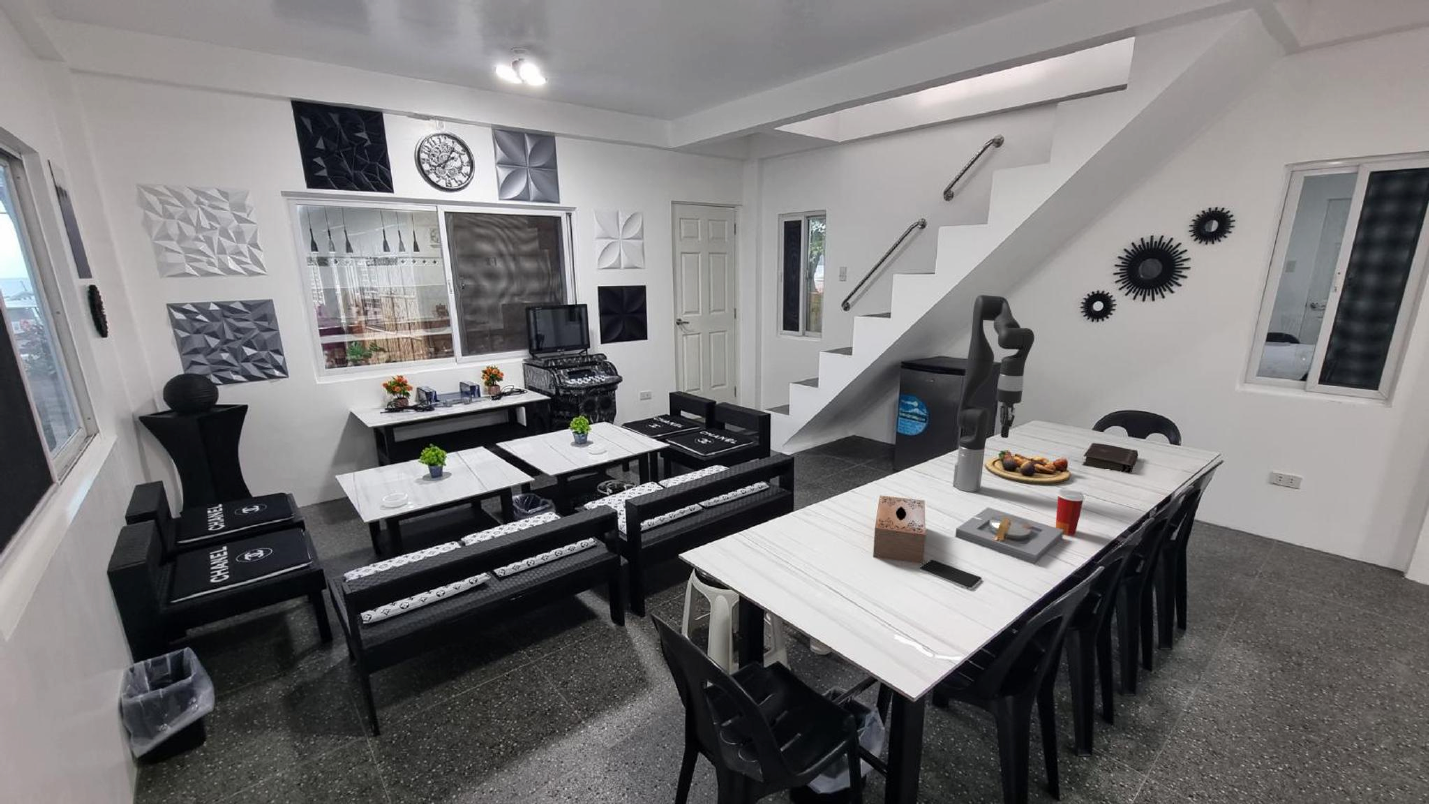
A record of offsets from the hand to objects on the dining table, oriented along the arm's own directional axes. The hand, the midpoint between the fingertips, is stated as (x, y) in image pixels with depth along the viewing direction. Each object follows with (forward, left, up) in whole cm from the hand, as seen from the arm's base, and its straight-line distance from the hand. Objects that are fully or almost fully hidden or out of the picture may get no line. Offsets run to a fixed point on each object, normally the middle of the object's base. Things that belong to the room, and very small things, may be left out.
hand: (1004, 437), depth 194 cm
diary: (+12, +93, -30) cm, 98 cm away
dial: (+10, -16, -27) cm, 33 cm away
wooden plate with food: (-9, +54, -30) cm, 62 cm away
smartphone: (+8, -50, -30) cm, 58 cm away
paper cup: (+21, +4, -29) cm, 36 cm away
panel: (+10, -14, -29) cm, 34 cm away
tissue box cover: (-13, -42, -30) cm, 53 cm away
